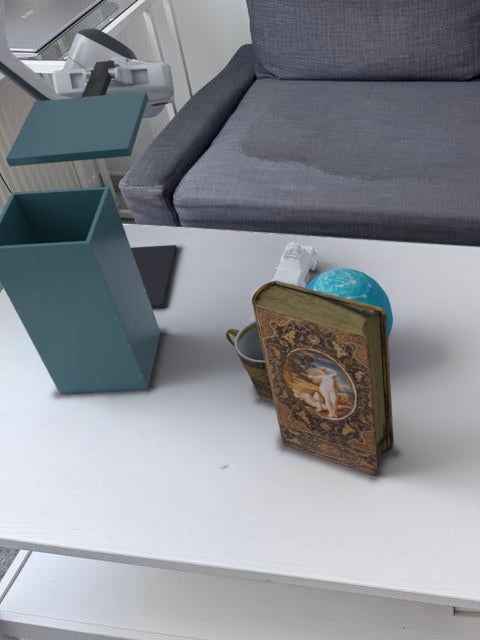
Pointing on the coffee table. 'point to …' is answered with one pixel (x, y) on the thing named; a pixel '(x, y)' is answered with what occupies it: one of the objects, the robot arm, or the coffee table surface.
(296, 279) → the toy car
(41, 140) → the lid
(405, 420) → the coffee table surface
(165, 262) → the mat
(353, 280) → the decorative orb
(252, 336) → the ceramic cup
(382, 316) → the book
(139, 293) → the bin
